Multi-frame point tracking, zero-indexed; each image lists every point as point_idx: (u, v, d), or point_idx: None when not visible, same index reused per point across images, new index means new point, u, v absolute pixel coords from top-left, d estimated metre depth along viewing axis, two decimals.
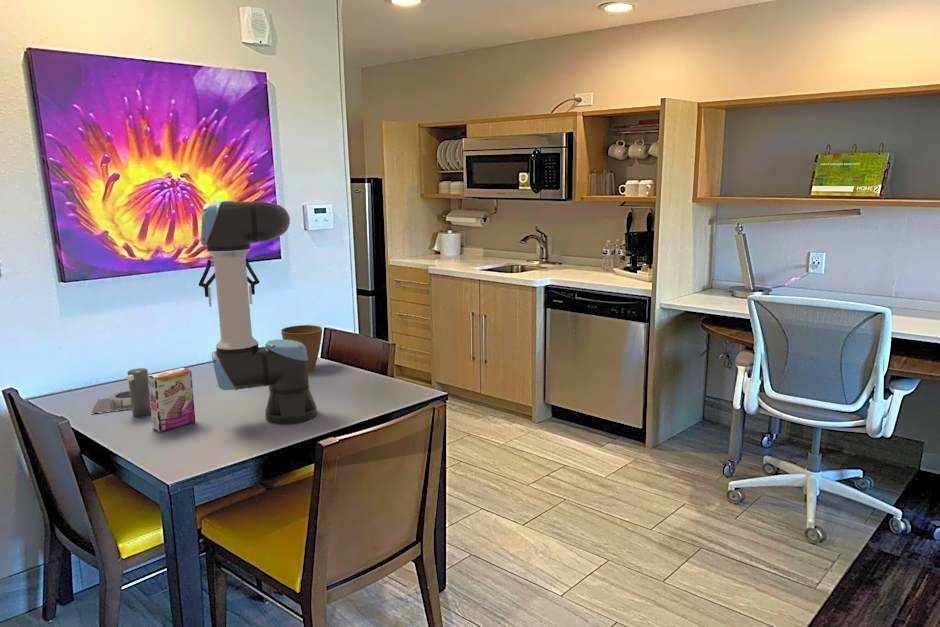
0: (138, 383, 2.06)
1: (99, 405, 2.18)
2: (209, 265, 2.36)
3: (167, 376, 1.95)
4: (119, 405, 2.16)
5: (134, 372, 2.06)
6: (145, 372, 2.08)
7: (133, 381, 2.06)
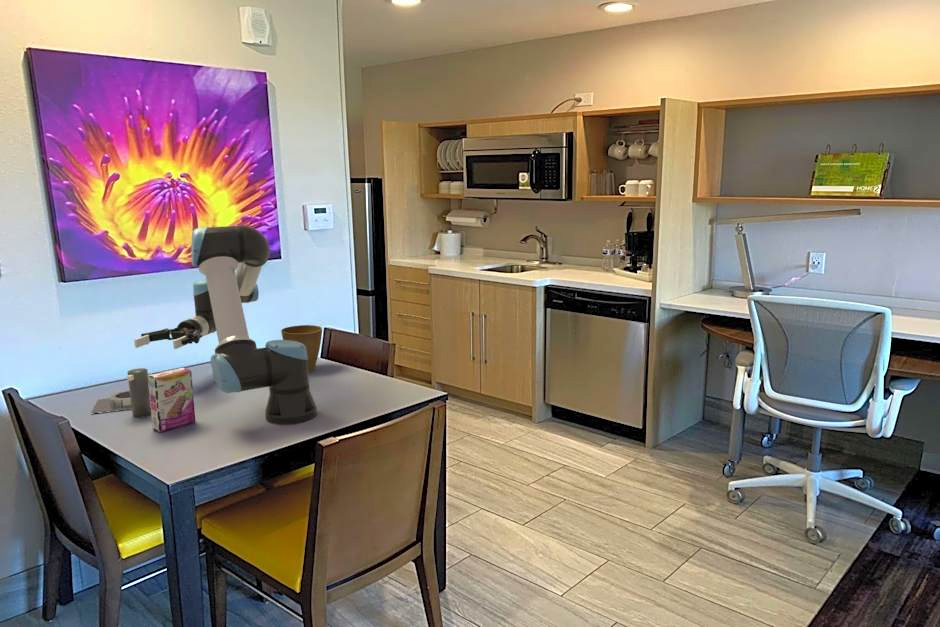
0: (138, 383, 2.06)
1: (99, 405, 2.18)
2: (164, 329, 2.31)
3: (167, 376, 1.95)
4: (119, 405, 2.16)
5: (134, 372, 2.06)
6: (145, 372, 2.08)
7: (133, 381, 2.06)
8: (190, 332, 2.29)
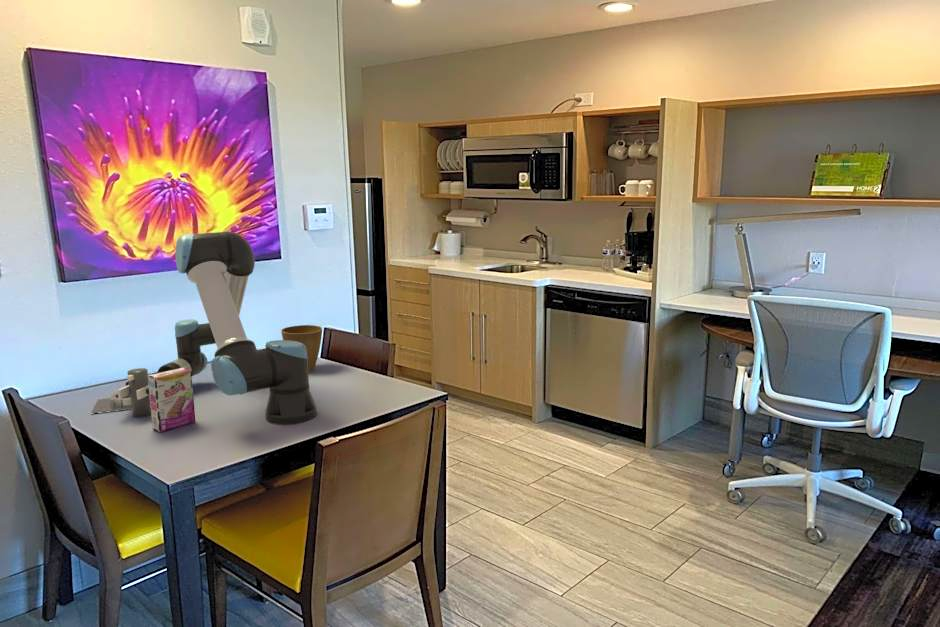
0: (138, 383, 2.06)
1: (99, 405, 2.18)
2: None
3: (167, 376, 1.95)
4: (119, 405, 2.16)
5: (134, 372, 2.06)
6: (145, 372, 2.08)
7: (133, 381, 2.06)
8: None
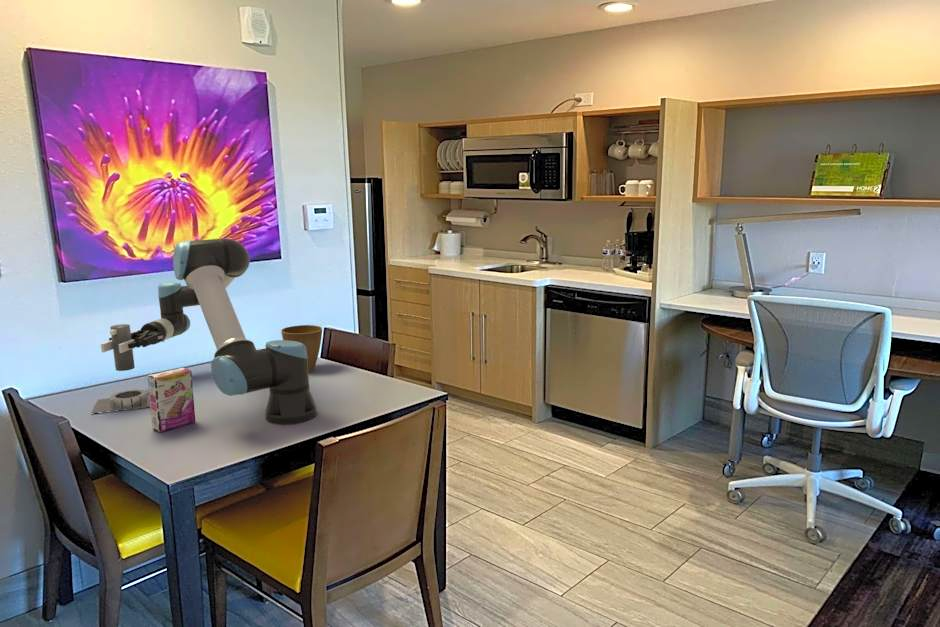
0: (121, 337, 2.14)
1: (99, 405, 2.18)
2: None
3: (167, 376, 1.95)
4: (119, 405, 2.16)
5: (117, 327, 2.14)
6: (127, 327, 2.16)
7: (116, 335, 2.14)
8: (151, 334, 2.27)
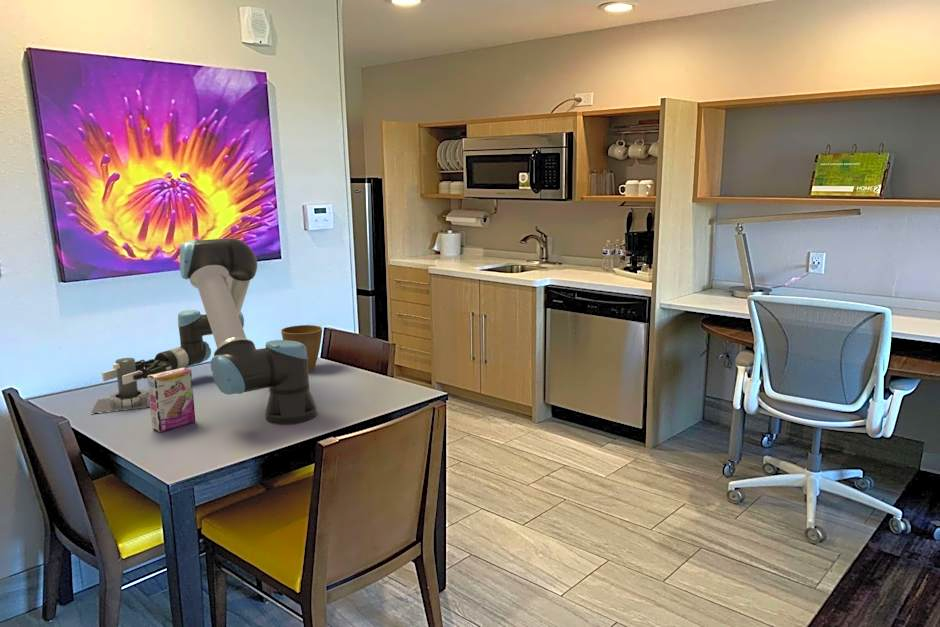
0: (123, 372, 2.16)
1: (99, 405, 2.18)
2: (140, 361, 2.31)
3: (167, 376, 1.95)
4: (119, 405, 2.16)
5: (120, 361, 2.17)
6: (131, 362, 2.17)
7: (119, 370, 2.16)
8: (160, 365, 2.27)
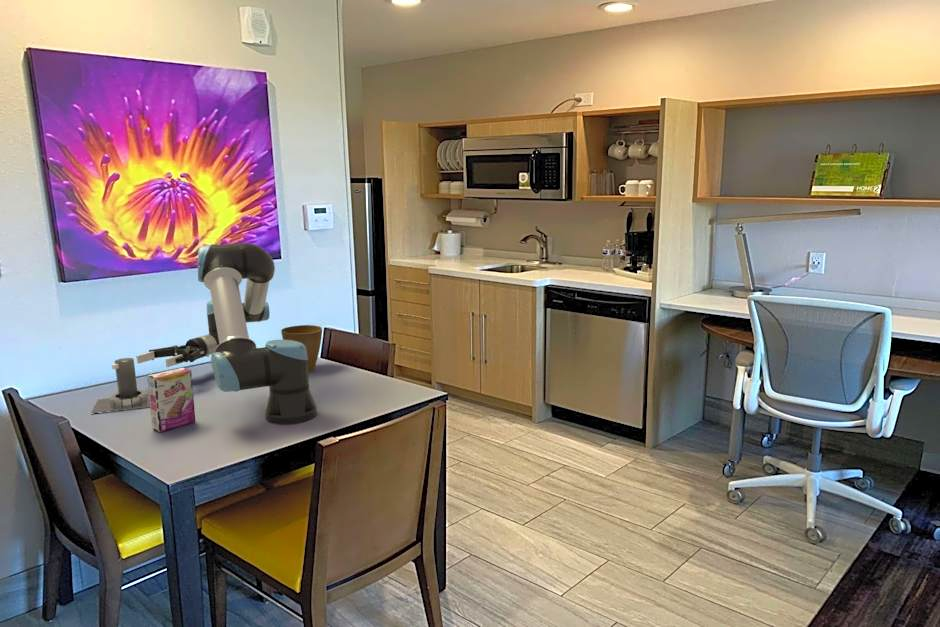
0: (122, 372, 2.16)
1: (99, 405, 2.18)
2: (172, 346, 2.43)
3: (167, 376, 1.95)
4: (119, 405, 2.16)
5: (119, 361, 2.17)
6: (130, 362, 2.17)
7: (118, 370, 2.16)
8: (192, 350, 2.39)
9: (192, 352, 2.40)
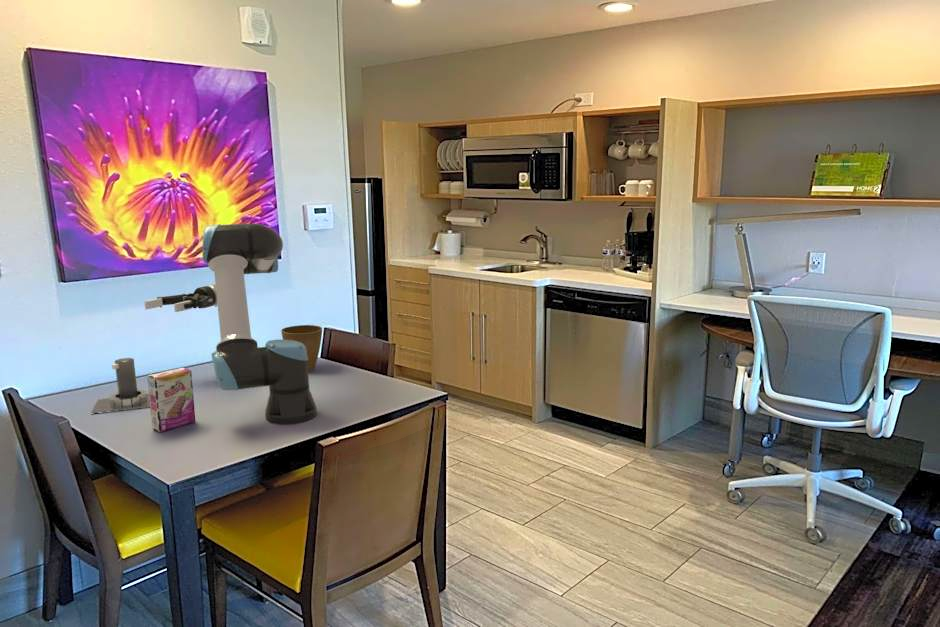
0: (122, 372, 2.16)
1: (99, 405, 2.18)
2: (180, 295, 2.41)
3: (167, 376, 1.95)
4: (119, 405, 2.16)
5: (120, 361, 2.17)
6: (130, 362, 2.17)
7: (118, 370, 2.16)
8: (201, 298, 2.36)
9: (200, 300, 2.37)
